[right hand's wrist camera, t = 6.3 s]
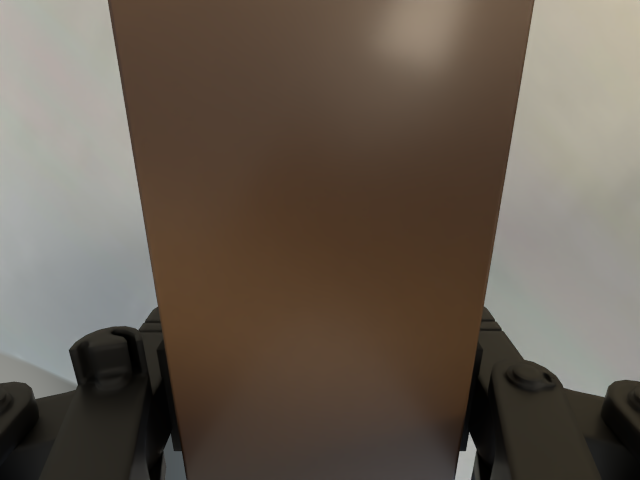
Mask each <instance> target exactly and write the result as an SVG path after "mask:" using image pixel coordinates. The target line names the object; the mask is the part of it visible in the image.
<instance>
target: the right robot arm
mask: <svg viewBox="0 0 640 480" xmlns="http://www.w3.org/2000/svg"><path fill="white" fill-rule="evenodd" d="M69 353H70V357H71V360H72V364H73V368H74V371H75V375H76V379H77V383H78V386H77V389H76V390H74V391H70V392H67V393H62V394H57V395H53V396H48V397H43V398H39V399H35V397H34V394H33V391H32V388H31V387H29V386H28V385H27V384H26V383H20V382H9V383H1V384H0V480H165V474H166V463H165V456H164V451H163V450H164V448H165V445H166V443H167V441H168V438H169V436H170V433H171V437H172V443H173V448H174V451H182V449H181V443H180V437H179V430H178V424H177V418H176V412H175V406H174V400H173V394H172V388H171V382H170V376H169V370H168V363H167V357H166V351H165V345H164V339H163V333H162V327H161V321H160V315H159V309H158V307H157V308H155V309H154V310H153V311H152V312H151V314H150V315H149V316H148V318H147V319H146V320H145V323H143V325H142V326H141V327H140V329H139V330H137V329H135V328H131V327H127V326H119V327H110V328H105V329H101V330H98V331H95V332H93V333H90V334H88V335H86V336H84V337H83V338H81V339H80V340H78V341H77V342H75V343H74V345H73V346H72V347H71V348H70V349H69ZM469 432H470V434H471V437H472V439H473V441H474V444H475V446H476V449H477V451H476V456H475V462H474V467H473V473H472V478H471V480H640V382H638V381H630V380H622V381H615V382H614V383H612V384H611V385H610V386H609V387H608V390H607V393H606V396H605V397H600V396H596V395H591V394H586V393H582V392H577V391H573V390H569V389H565V388H563V385H562V384H561V382H560V381H559V379H558V378H557V377H556V375H554V374H553V373H552V372H550V371H549V370H548V369H546V368H545V367H543V366H540V365H538V364H536V363H534V362H531V361H527V360H524V359H523V357H522V356H521V355H520V353H519V352H518V351H517V349H516V348H515V346H514V345H513V344H512V342H511V341H510V340H509V338H508V337H507V336H506V334H505V333H504V331H502V330H501V327H500V326H499V325H498V323H497V322H495V319H494V318H493V316H492V315H491V314H490V312H489V311H488V309H487V308H485V307H484V306H483V312H482V318H481V324H480V330H479V336H478V343H477V349H476V355H475V361H474V367H473V373H472V379H471V385H470V391H469V397H468V403H467V409H466V415H465V421H464V427H463V433H462V439H461V445H460V451H466V447H467V441H468V435H469Z"/></svg>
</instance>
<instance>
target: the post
mask: <svg viewBox="0 0 640 480" xmlns="http://www.w3.org/2000/svg"><path fill="white" fill-rule="evenodd" d="M108 4H109V10H110V16H111V22H112V28H113V35H114V41H115V47H116V53H117V59H118V65H119V71H120V77H121V83H122V89H123V95H124V102H125V108H126V114H127V120H128V126H129V132H130V138H131V144H132V150H133V156H134V162H135V169H136V175H137V181H138V187H139V193H140V199H141V205H142V211H143V217H144V223H145V229H146V236H147V242H148V248H149V254H150V260H151V266H152V272H153V278H154V284H155V290H156V296H157V303H158V309H159V315H160V321H161V327H162V333H163V339H164V345H165V351H166V357H167V363H168V370H169V376H170V382H171V388H172V394H173V400H174V406H175V412H176V418H177V424H178V430H179V437H180V443H181V449H182V455H183V461H184V467H185V473H186V479H187V480H455V475H456V469H457V463H458V457H459V451H460V445H461V439H462V433H463V427H464V421H465V415H466V409H467V403H468V397H469V391H470V385H471V379H472V373H473V367H474V361H475V355H476V349H477V343H478V336H479V330H480V324H481V318H482V312H483V306H484V300H485V294H486V288H487V282H488V276H489V270H490V264H491V258H492V252H493V246H494V240H495V234H496V228H497V222H498V216H499V210H500V204H501V198H502V192H503V186H504V180H505V174H506V168H507V162H508V156H509V150H510V144H511V138H512V132H513V126H514V120H515V114H516V108H517V102H518V96H519V90H520V84H521V78H522V72H523V66H524V60H525V54H526V48H527V42H528V36H529V30H530V24H531V18H532V12H533V6H534V0H108Z"/></svg>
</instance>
